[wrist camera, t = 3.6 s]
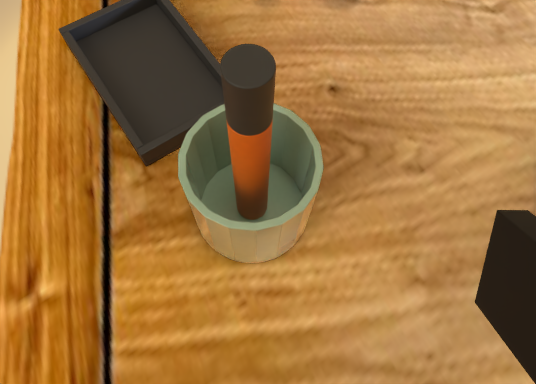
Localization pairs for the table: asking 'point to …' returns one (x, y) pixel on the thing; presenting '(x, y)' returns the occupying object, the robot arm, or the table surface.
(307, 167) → the pen cup
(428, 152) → the table surface
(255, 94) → the marker
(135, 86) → the pen tray
